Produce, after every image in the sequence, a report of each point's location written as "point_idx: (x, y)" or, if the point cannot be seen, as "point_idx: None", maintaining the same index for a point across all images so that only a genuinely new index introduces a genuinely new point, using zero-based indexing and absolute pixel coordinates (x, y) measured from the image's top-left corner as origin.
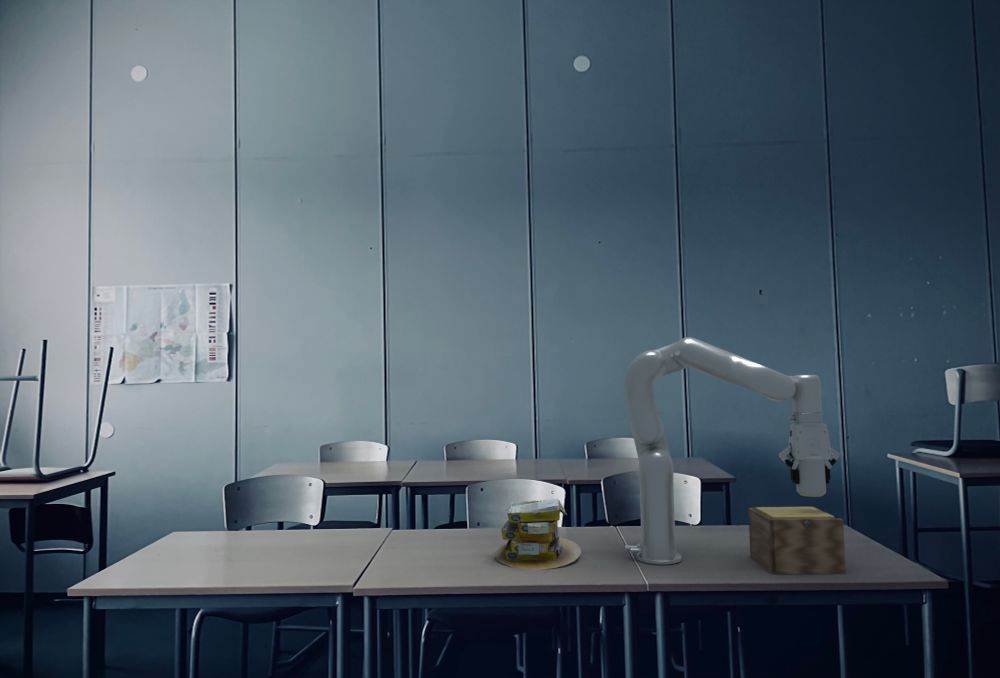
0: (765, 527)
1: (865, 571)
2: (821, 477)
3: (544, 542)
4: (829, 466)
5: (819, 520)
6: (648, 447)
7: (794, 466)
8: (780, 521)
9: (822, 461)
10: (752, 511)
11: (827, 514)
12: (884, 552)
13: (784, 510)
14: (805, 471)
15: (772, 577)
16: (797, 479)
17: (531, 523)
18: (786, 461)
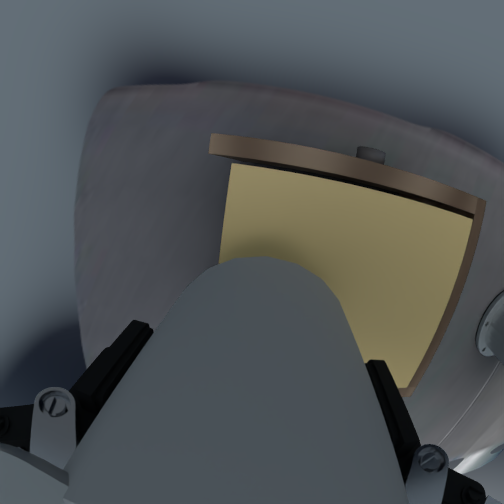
0: None
1: (184, 163)
2: (206, 315)
3: None
4: (54, 409)
5: (318, 149)
6: None
7: (432, 466)
8: (457, 190)
9: (97, 466)
10: (426, 364)
11: (236, 211)
12: (82, 293)
13: (361, 330)
14: (372, 402)
15: (418, 164)
16: (387, 379)
17: None
18: (482, 491)
